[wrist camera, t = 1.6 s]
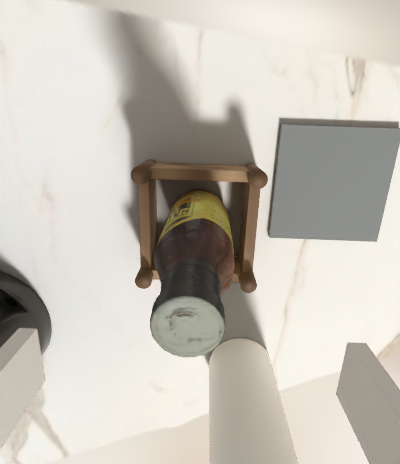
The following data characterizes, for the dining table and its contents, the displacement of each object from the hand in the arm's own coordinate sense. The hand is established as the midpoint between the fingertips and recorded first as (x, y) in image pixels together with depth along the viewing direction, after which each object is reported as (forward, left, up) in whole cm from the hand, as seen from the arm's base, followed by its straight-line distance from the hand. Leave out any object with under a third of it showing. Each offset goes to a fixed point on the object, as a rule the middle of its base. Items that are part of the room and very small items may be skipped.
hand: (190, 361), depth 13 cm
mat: (+14, +4, -23) cm, 27 cm away
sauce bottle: (0, 0, -23) cm, 23 cm away
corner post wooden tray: (0, 0, -23) cm, 23 cm away
